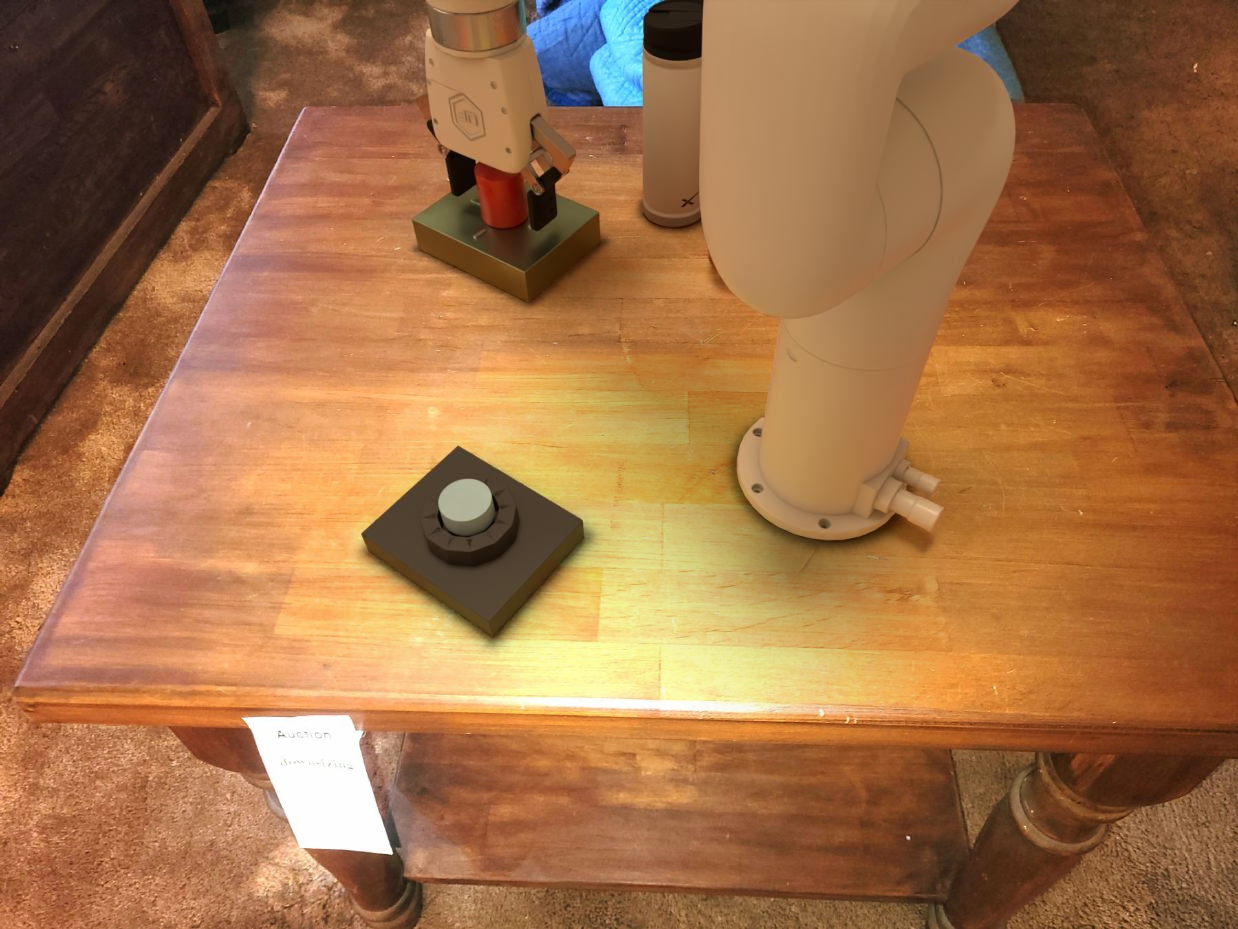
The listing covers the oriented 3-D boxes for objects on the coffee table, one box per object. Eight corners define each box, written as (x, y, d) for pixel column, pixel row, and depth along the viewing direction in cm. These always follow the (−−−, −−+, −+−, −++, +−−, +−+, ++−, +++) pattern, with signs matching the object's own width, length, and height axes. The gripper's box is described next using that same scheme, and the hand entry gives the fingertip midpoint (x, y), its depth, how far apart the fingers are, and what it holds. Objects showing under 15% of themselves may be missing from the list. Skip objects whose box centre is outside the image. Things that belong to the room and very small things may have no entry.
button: (505, 509, 61) (502, 494, 59) (470, 545, 59) (466, 530, 58) (467, 486, 62) (463, 470, 61) (431, 519, 60) (427, 504, 59)
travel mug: (703, 231, 86) (716, 23, 71) (637, 224, 87) (636, 18, 72) (712, 195, 90) (726, -10, 75) (648, 189, 91) (649, -15, 75)
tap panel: (601, 242, 85) (599, 210, 83) (528, 303, 80) (524, 270, 77) (493, 195, 91) (488, 163, 88) (418, 249, 85) (410, 217, 83)
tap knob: (538, 211, 83) (532, 160, 79) (507, 234, 81) (500, 183, 77) (503, 195, 85) (496, 145, 81) (472, 218, 82) (463, 167, 78)
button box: (584, 537, 63) (581, 504, 60) (493, 638, 58) (484, 608, 55) (462, 463, 68) (454, 429, 65) (368, 551, 63) (353, 518, 60)
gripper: (365, 8, 70) (409, 195, 83) (532, 66, 63) (551, 259, 77) (430, -25, 74) (462, 159, 87) (594, 26, 67) (602, 217, 81)
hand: (504, 205), depth 82 cm, fingers open, 9 cm apart
